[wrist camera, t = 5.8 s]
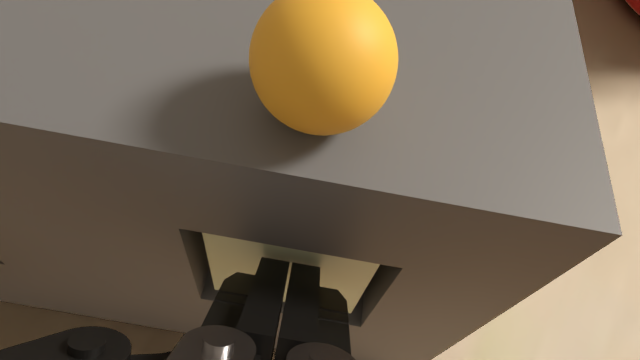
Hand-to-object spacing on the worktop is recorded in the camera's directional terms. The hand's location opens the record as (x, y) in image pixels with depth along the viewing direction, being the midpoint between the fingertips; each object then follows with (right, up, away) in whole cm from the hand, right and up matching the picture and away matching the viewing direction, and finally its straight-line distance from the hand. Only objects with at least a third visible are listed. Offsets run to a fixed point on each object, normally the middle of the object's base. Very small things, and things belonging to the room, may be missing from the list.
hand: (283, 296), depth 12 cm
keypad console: (-6, +1, +9) cm, 11 cm away
